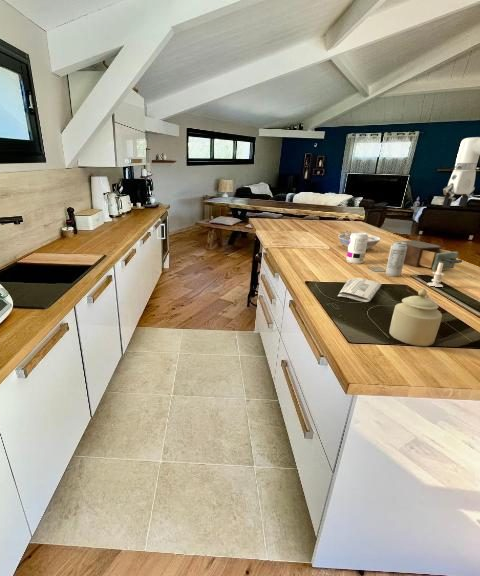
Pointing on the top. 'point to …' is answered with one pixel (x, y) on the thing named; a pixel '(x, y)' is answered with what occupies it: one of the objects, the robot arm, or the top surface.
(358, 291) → the newspaper
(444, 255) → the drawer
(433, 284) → the white tapered tower
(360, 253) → the supplement can
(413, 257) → the cabinet
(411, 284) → the top surface
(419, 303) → the sugar bowl
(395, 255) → the energy drink can
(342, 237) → the ramen bowl
